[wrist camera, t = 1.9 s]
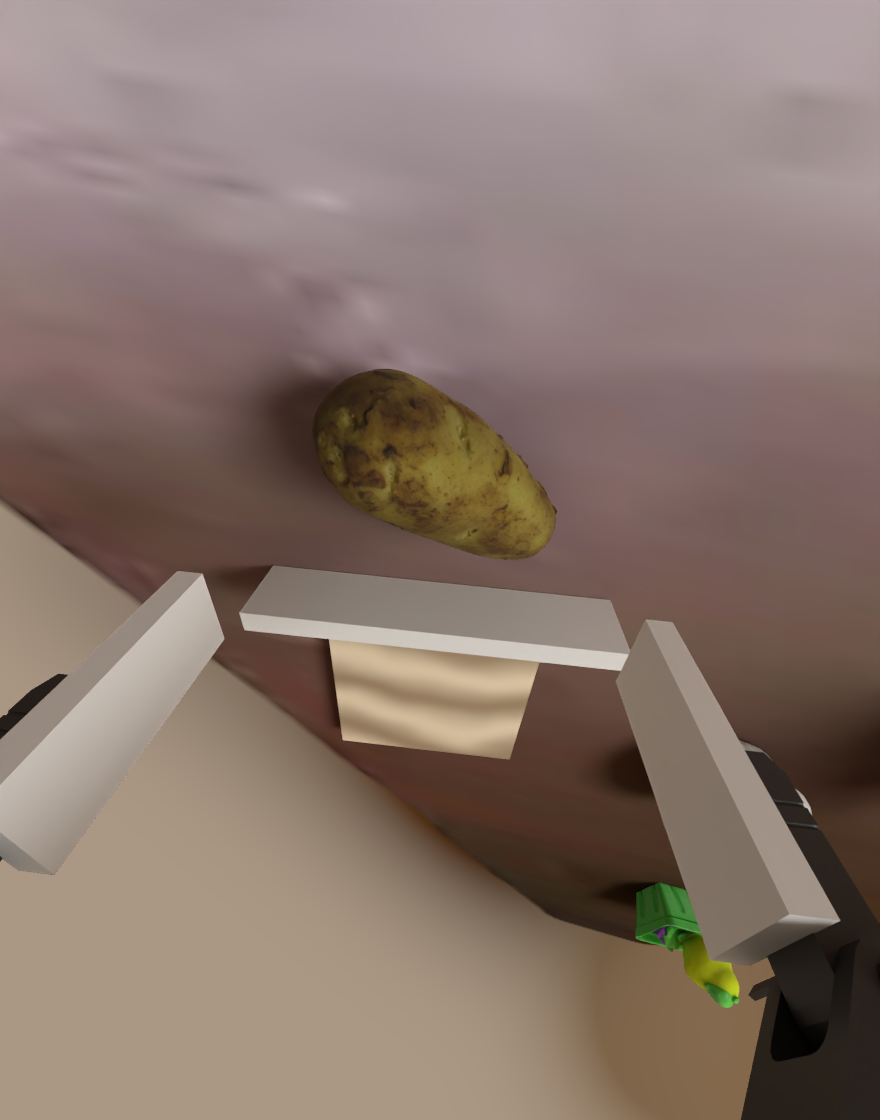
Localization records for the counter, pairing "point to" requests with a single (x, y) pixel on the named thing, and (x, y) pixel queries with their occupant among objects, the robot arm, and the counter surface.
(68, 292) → the counter surface
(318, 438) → the potato
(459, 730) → the cutting board
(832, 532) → the counter surface
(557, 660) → the divider wall
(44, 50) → the counter surface
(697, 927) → the fruit basket
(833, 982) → the robot arm
